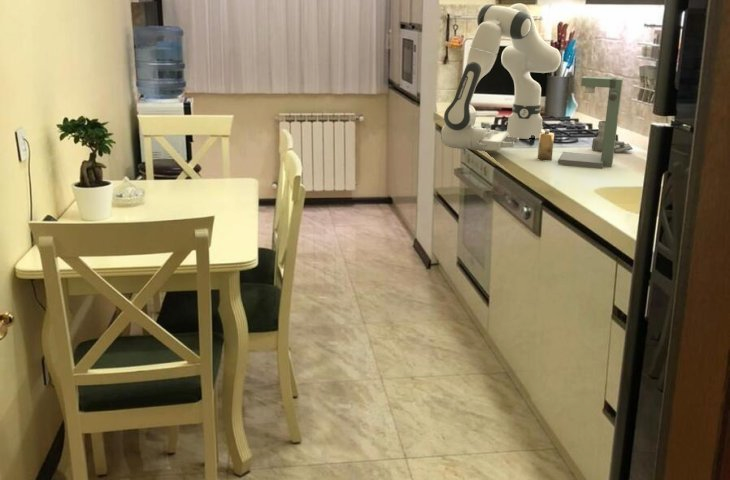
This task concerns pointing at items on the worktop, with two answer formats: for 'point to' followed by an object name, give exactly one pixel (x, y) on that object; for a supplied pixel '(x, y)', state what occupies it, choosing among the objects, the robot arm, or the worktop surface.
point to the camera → (598, 141)
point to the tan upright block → (545, 145)
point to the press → (610, 125)
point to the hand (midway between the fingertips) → (516, 142)
